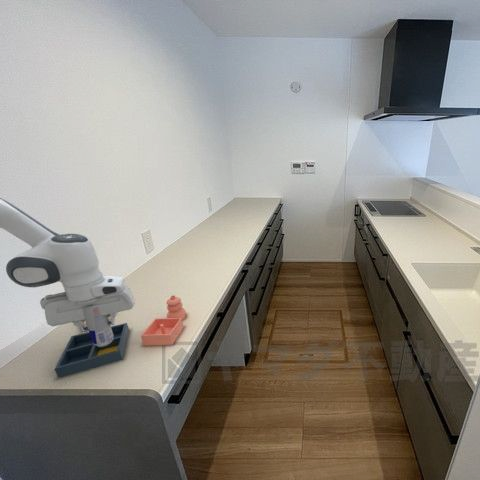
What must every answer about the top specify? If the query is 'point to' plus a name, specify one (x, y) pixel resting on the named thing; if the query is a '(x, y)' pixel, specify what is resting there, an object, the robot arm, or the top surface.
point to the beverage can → (98, 326)
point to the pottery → (166, 325)
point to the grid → (91, 352)
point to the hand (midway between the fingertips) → (99, 327)
